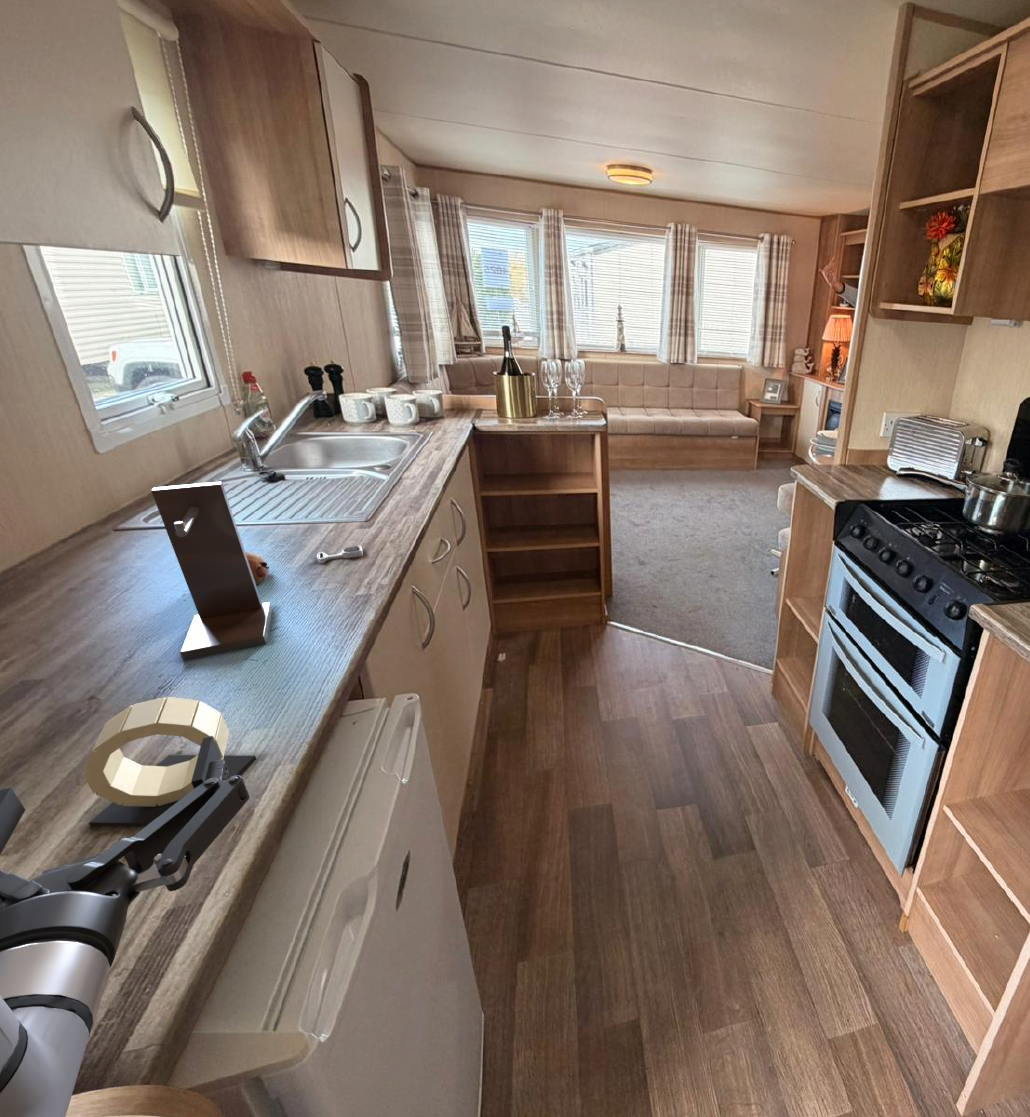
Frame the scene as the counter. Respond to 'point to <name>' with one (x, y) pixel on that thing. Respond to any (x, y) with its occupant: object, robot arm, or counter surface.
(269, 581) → the counter surface
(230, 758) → the mat
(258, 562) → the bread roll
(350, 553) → the metal bottle opener
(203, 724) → the tape roll
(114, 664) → the counter surface
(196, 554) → the stand
